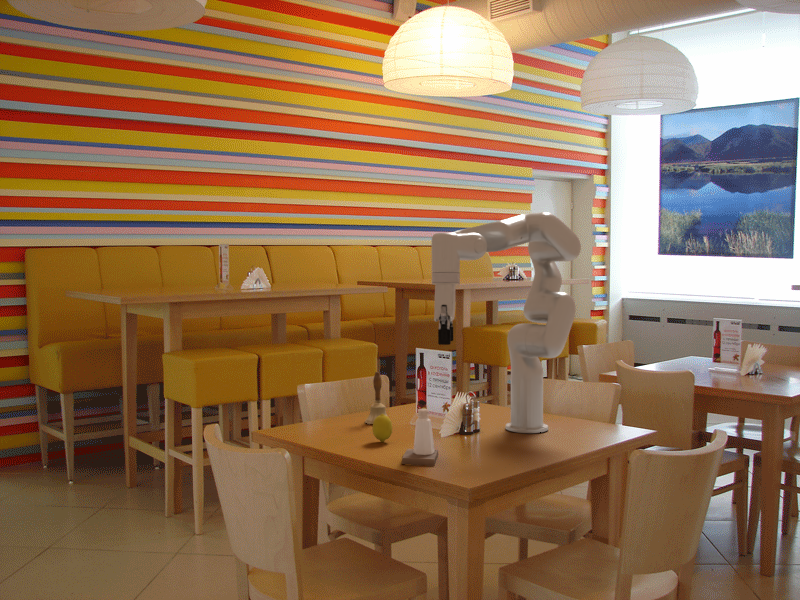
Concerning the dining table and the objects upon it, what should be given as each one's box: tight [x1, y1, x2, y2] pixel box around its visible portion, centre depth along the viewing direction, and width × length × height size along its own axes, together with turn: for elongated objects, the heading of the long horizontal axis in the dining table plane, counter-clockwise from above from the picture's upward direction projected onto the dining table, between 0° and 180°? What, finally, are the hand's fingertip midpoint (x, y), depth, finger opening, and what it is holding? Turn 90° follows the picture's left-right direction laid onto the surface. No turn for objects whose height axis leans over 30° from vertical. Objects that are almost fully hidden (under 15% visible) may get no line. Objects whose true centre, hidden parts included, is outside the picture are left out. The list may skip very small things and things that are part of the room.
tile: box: [401, 448, 439, 467], centre depth 193 cm, size 2×8×10 cm
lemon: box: [372, 414, 393, 443], centre depth 212 cm, size 6×6×8 cm
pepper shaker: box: [413, 408, 436, 455], centre depth 193 cm, size 5×5×11 cm
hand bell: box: [364, 371, 389, 425], centre depth 240 cm, size 8×8×16 cm
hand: (446, 342), depth 206 cm, fingers open, 9 cm apart
